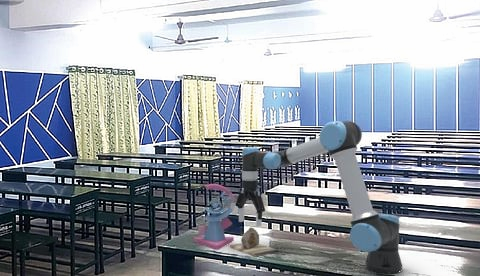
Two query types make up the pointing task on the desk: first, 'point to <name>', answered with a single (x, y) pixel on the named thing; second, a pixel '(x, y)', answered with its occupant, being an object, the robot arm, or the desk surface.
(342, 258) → the desk surface
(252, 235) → the rock
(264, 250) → the board
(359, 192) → the robot arm
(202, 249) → the desk surface
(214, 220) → the trophy
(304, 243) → the desk surface
